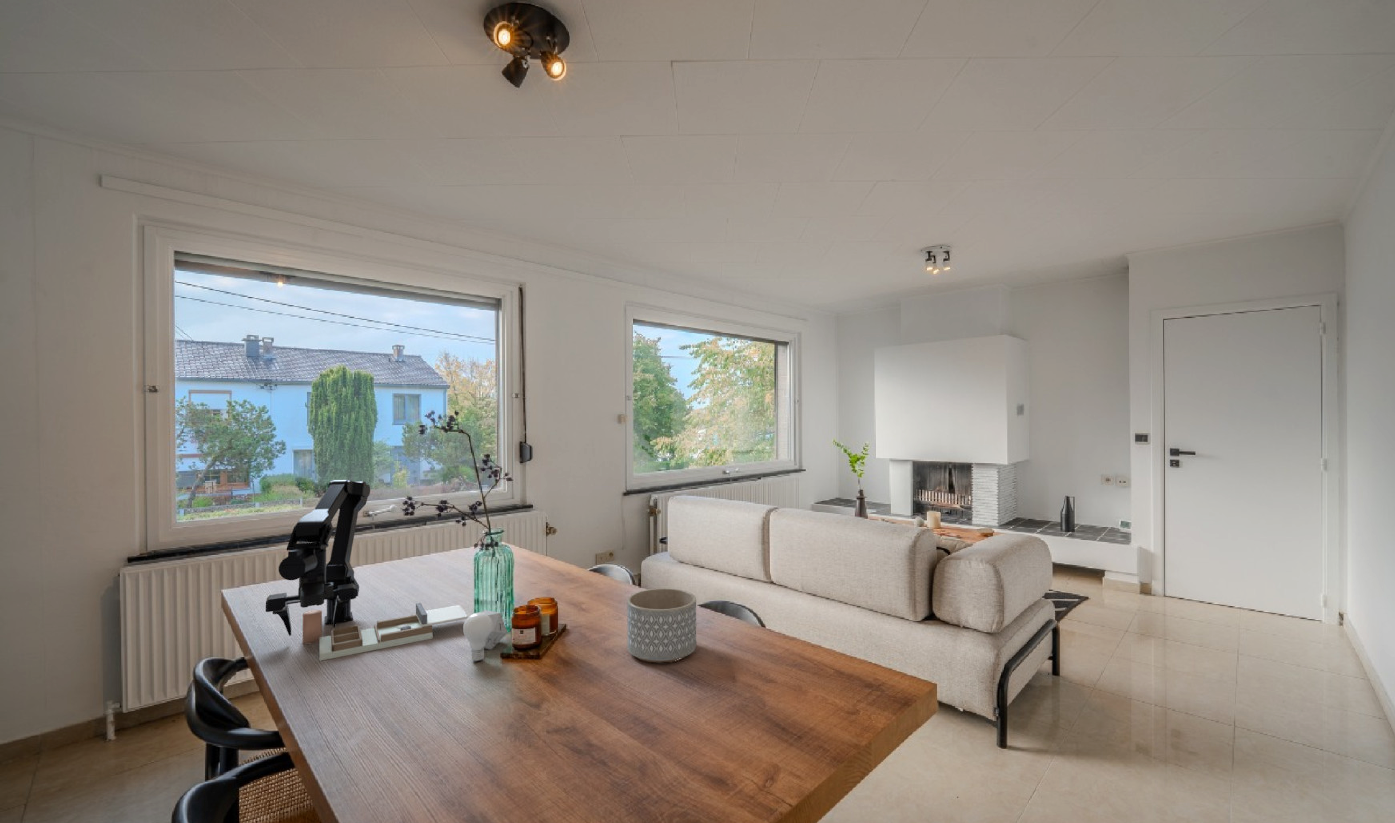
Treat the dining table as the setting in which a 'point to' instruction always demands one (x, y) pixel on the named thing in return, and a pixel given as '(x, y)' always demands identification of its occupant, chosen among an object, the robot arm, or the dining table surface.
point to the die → (495, 629)
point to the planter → (661, 624)
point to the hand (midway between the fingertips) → (312, 631)
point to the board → (373, 637)
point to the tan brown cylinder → (312, 626)
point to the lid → (439, 615)
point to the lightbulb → (477, 633)
